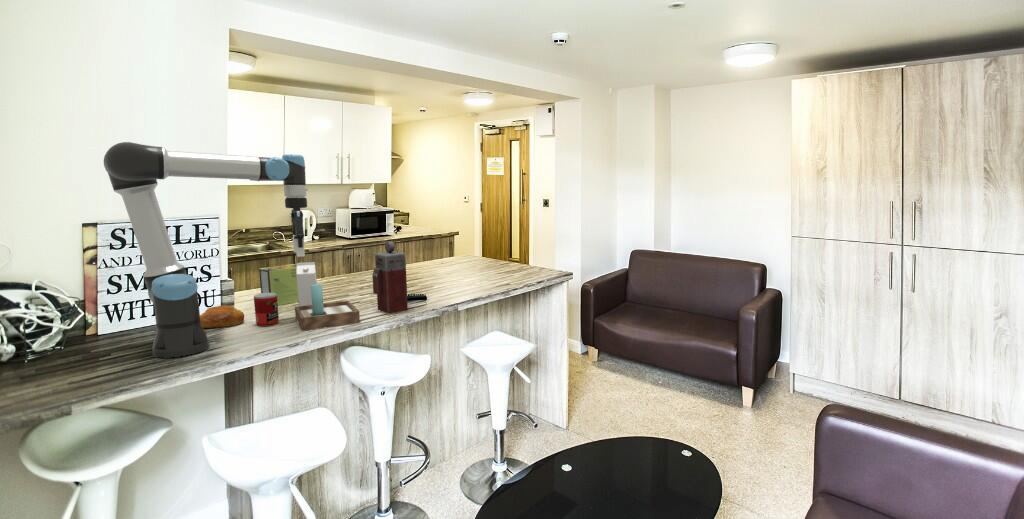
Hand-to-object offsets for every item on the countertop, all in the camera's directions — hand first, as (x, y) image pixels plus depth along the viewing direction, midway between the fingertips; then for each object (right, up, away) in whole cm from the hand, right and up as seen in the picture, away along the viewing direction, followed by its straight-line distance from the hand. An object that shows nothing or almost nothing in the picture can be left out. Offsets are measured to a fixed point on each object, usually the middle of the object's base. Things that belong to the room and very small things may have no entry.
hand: (299, 254), depth 197 cm
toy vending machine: (+30, -23, +16) cm, 41 cm away
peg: (+7, -25, +1) cm, 26 cm away
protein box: (-20, -21, +34) cm, 45 cm away
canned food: (-11, -26, -1) cm, 28 cm away
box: (+10, -25, +2) cm, 27 cm away
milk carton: (-5, -22, +23) cm, 32 cm away
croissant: (-28, -26, 0) cm, 39 cm away
